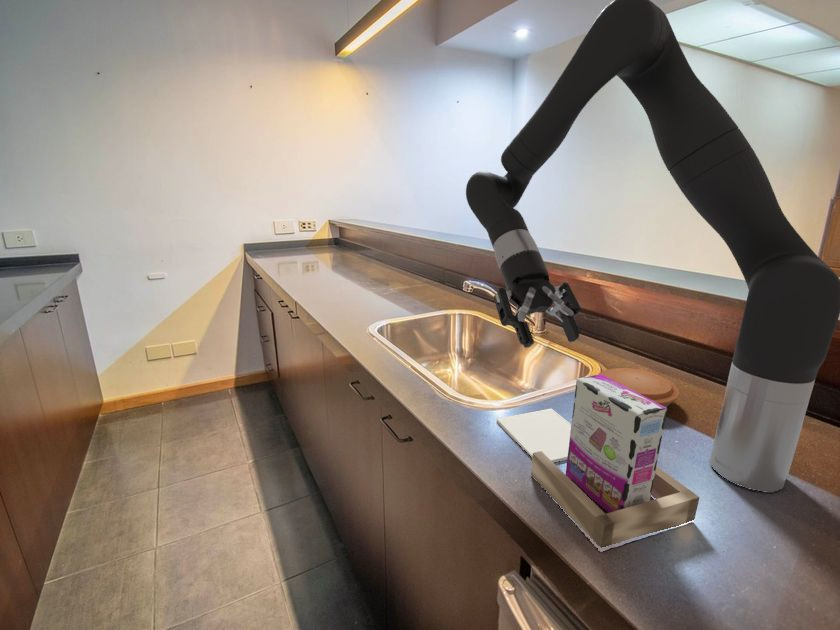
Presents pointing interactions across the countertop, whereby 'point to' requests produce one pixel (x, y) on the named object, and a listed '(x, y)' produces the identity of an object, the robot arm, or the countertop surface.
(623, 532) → the frame
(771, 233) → the robot arm
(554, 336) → the countertop surface
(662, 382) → the pie
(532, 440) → the mat
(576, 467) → the candy bar box
